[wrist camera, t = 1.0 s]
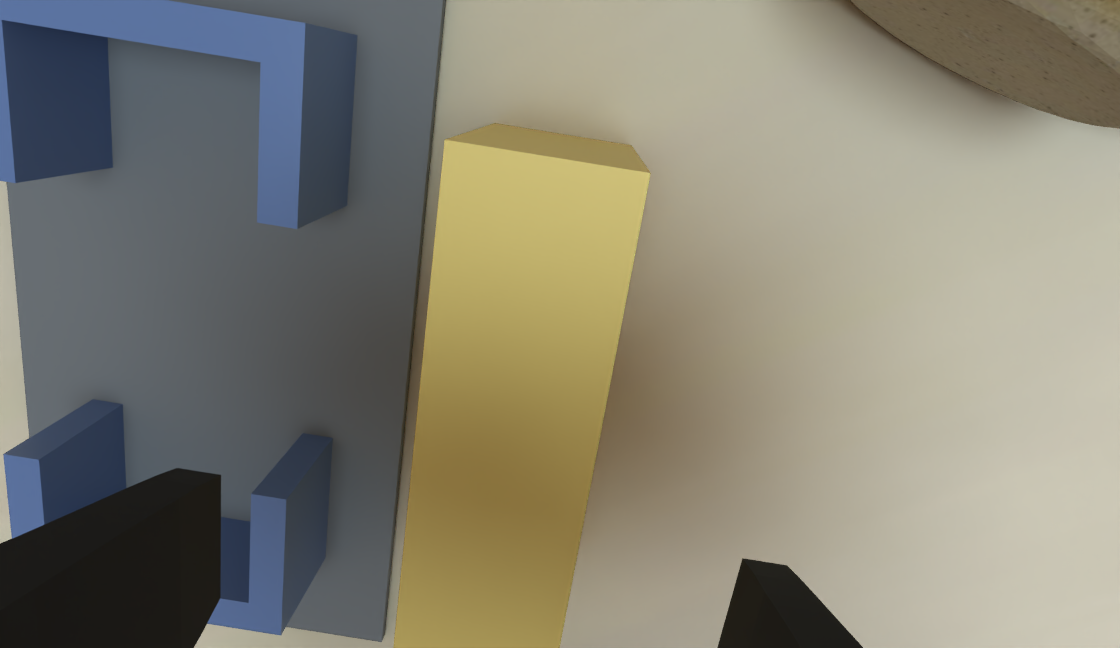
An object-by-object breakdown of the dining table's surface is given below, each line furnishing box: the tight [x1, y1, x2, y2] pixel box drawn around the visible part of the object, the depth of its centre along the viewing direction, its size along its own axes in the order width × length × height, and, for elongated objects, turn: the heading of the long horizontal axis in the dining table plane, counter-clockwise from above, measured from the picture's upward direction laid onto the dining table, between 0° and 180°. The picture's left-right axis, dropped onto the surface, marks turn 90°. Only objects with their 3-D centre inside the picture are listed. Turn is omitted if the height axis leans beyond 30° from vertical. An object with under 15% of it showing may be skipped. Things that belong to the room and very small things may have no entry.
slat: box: [393, 123, 651, 648], centre depth 16 cm, size 11×3×6 cm, turn 171°
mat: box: [7, 0, 446, 642], centre depth 18 cm, size 19×10×1 cm, turn 171°
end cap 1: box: [0, 0, 358, 229], centre depth 15 cm, size 4×6×3 cm, turn 81°
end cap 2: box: [3, 399, 333, 635], centre depth 18 cm, size 4×6×3 cm, turn 81°
